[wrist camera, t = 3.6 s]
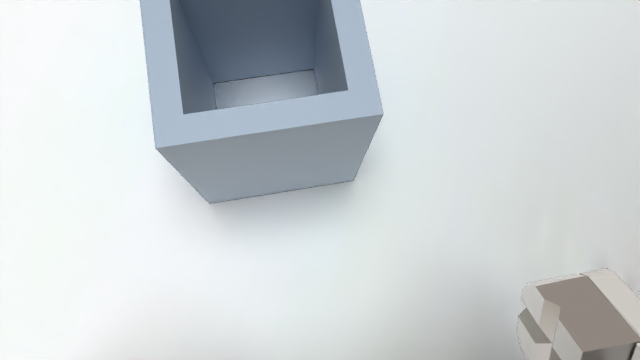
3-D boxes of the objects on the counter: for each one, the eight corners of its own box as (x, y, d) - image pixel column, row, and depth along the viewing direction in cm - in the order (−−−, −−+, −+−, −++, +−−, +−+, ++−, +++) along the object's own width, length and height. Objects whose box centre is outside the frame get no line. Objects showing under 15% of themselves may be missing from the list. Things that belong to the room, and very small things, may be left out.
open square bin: (353, 180, 21) (383, 113, 14) (209, 203, 21) (155, 148, 13) (317, -11, 23) (325, -165, 16) (184, 6, 23) (124, -143, 15)
